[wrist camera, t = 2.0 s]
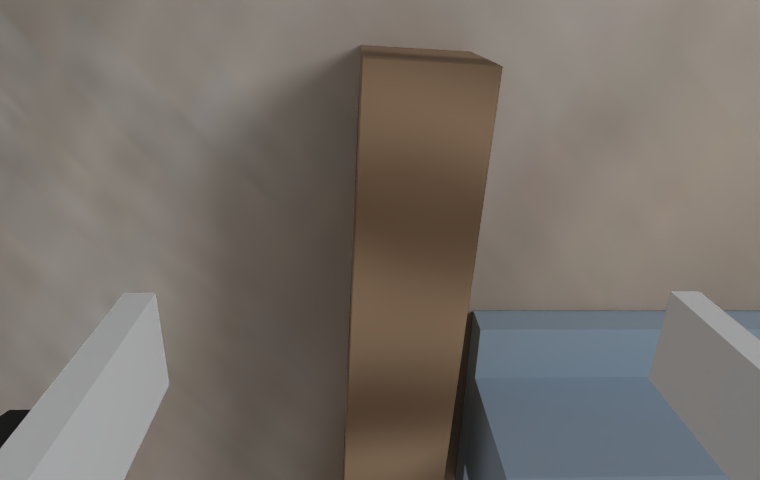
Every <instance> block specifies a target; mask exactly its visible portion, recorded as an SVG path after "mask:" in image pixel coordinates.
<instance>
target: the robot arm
mask: <svg viewBox="0 0 760 480" xmlns="http://www.w3.org/2000/svg"><path fill="white" fill-rule="evenodd" d="M648 379H649V380H650V382H651V383H652V384H653V385H654V386H655V388H656V389H657V390H658V391H659V393H660V394H661V395H662V396H663V398H664V399H665V400H666V401H667V403H668V404H669V405H670V406H671V408H672V409H673V410H674V411H675V413H676V414H677V415H678V416H679V417H680V419H681V420H682V421H683V422H684V424H685V425H686V426H687V427H688V429H689V430H690V431H691V432H692V434H693V435H694V436H695V437H696V439H697V440H698V441H699V442H700V444H701V445H702V446H703V447H704V449H705V450H706V451H707V452H708V453H709V455H710V456H711V457H712V458H713V460H714V461H715V462H716V463H717V465H718V466H719V467H720V468H721V470H722V471H723V472H724V473H725V475H726V476H727V477H728V478H729V480H760V340H759V339H758V338H756V337H755V336H754V335H753V334H751V333H750V332H749V331H748V330H746V329H745V328H744V327H743V326H741V325H740V324H739V323H738V322H737V321H735V320H734V319H733V318H732V317H730V316H729V315H728V314H727V313H725V312H724V311H723V310H722V309H720V308H719V307H718V306H717V305H716V304H714V303H713V302H712V301H711V300H709V299H708V298H707V297H706V296H704V295H703V294H702V293H701V292H699V291H671V293H670V297H669V301H668V305H667V309H666V313H665V316H664V320H663V324H662V328H661V332H660V336H659V340H658V343H657V347H656V351H655V355H654V359H653V363H652V367H651V370H650V374H649V378H648ZM168 386H169V379H168V372H167V365H166V359H165V352H164V345H163V339H162V332H161V326H160V319H159V312H158V306H157V299H156V293H123V294H122V296H121V297H120V298H119V299H118V301H117V302H116V303H115V305H114V306H113V307H112V308H111V310H110V311H109V312H108V313H107V315H106V316H105V317H104V318H103V320H102V321H101V322H100V323H99V325H98V326H97V327H96V328H95V330H94V331H93V332H92V334H91V335H90V336H89V337H88V339H87V340H86V341H85V342H84V344H83V345H82V346H81V347H80V349H79V350H78V351H77V352H76V354H75V355H74V356H73V357H72V359H71V360H70V361H69V363H68V364H67V365H66V366H65V368H64V369H63V370H62V371H61V373H60V374H59V375H58V376H57V378H56V379H55V380H54V381H53V383H52V384H51V385H50V386H49V388H48V389H47V390H46V392H45V393H44V394H43V395H42V397H41V398H40V399H39V400H38V402H37V403H36V404H35V405H34V407H33V408H32V409H31V410H9V411H7V412H6V413H4V414H3V415H1V416H0V480H124V478H125V476H126V474H127V472H128V470H129V468H130V466H131V464H132V462H133V459H134V457H135V455H136V453H137V451H138V449H139V447H140V445H141V443H142V441H143V439H144V436H145V434H146V432H147V430H148V428H149V426H150V424H151V422H152V420H153V418H154V416H155V413H156V411H157V409H158V407H159V405H160V403H161V401H162V399H163V397H164V395H165V393H166V390H167V388H168Z"/></svg>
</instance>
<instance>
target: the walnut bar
mask: <svg viewBox="0 0 760 480" xmlns="http://www.w3.org/2000/svg"><path fill="white" fill-rule="evenodd" d="M501 74H502V66H500V65H498V64H496V63H494V62H492V61H489V60H487V59H485V58H483V57H481V56H479V55H476V54H474V53H472V52H467V51H450V50H432V49H415V48H398V47H381V46H364V45H361V55H360V79H359V102H358V126H357V150H356V174H355V198H354V221H353V245H352V269H351V293H350V317H349V341H348V364H347V388H346V412H345V436H344V460H343V480H444V476H445V469H446V462H447V455H448V448H449V441H450V434H451V427H452V420H453V413H454V406H455V398H456V391H457V384H458V377H459V370H460V363H461V356H462V349H463V342H464V335H465V328H466V321H467V314H468V307H469V300H470V293H471V286H472V279H473V272H474V265H475V258H476V250H477V243H478V236H479V229H480V222H481V215H482V208H483V201H484V194H485V187H486V180H487V173H488V166H489V159H490V152H491V145H492V138H493V131H494V124H495V117H496V110H497V102H498V95H499V88H500V81H501Z"/></svg>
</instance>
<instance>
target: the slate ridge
mask: <svg viewBox="0 0 760 480" xmlns="http://www.w3.org/2000/svg"><path fill="white" fill-rule="evenodd" d="M724 312H725V313H727V314H728V315H729V316H730V317H732V318H733V319H734V320H735V321H737V322H738V323H739V324H740V325H741V326H743V327H744V328H745V329H746V330H748V331H749V332H750V333H751V334H753V335H754V336H755V337H756V338H758V339H759V340H760V311H724ZM665 313H666V311H473V321H472V330H471V339H470V348H469V357H468V367H467V376H466V385H465V394H464V403H463V413H462V422H461V431H460V440H459V449H458V459H457V468H456V477H455V478H456V480H729V478H728V477H727V476H726V475H725V473H724V472H723V471H722V470H721V468H720V467H719V466H718V465H717V463H716V462H715V461H714V460H713V458H712V457H711V456H710V455H709V453H708V452H707V451H706V450H705V449H704V447H703V446H702V445H701V444H700V442H699V441H698V440H697V439H696V437H695V436H694V435H693V434H692V432H691V431H690V430H689V429H688V427H687V426H686V425H685V424H684V422H683V421H682V420H681V419H680V417H679V416H678V415H677V414H676V413H675V411H674V410H673V409H672V408H671V406H670V405H669V404H668V403H667V401H666V400H665V399H664V398H663V396H662V395H661V394H660V393H659V391H658V390H657V389H656V388H655V386H654V385H653V384H652V383H651V382H650V380H649V379H648V378H649V374H650V370H651V367H652V363H653V359H654V355H655V351H656V347H657V343H658V340H659V336H660V332H661V328H662V324H663V320H664V316H665Z"/></svg>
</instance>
